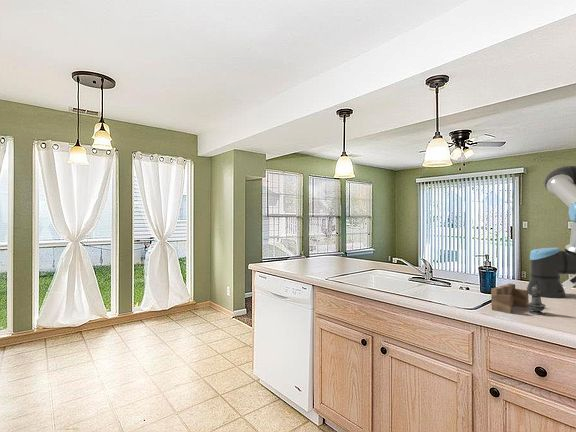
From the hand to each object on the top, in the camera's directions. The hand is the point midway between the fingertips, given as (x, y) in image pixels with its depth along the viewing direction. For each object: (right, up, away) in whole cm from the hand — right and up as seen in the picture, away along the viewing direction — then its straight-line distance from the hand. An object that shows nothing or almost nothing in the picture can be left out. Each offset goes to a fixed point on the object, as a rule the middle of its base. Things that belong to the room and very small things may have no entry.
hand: (565, 286), depth 124 cm
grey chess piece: (-5, -13, +8) cm, 16 cm away
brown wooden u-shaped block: (-10, -13, +16) cm, 23 cm away
